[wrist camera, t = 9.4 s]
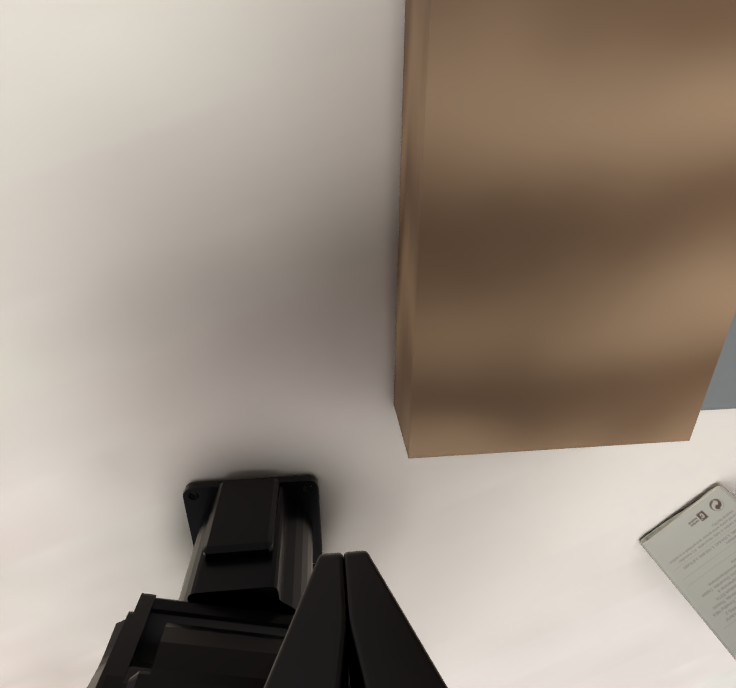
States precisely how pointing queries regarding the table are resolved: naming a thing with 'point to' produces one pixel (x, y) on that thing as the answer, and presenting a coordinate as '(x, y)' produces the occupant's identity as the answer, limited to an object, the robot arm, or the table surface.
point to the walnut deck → (563, 221)
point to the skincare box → (702, 559)
